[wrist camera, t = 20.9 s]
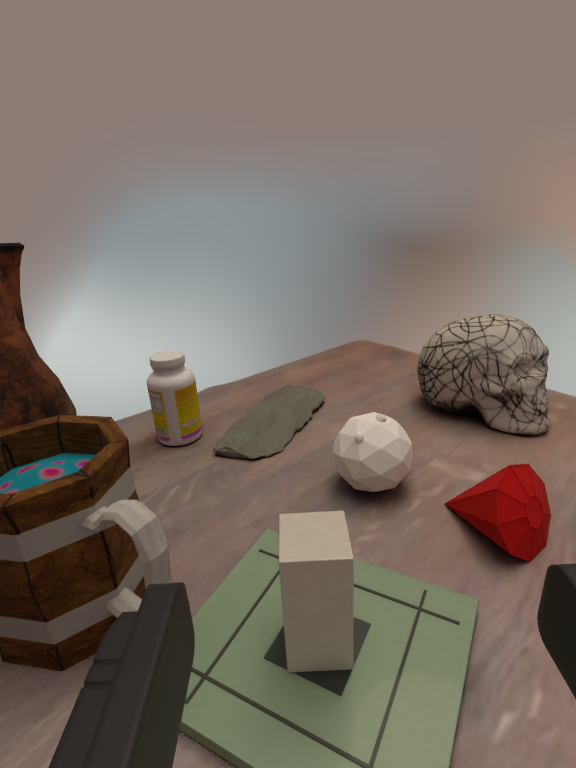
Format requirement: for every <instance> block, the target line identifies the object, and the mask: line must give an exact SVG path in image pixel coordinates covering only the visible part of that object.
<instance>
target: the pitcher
mask: <svg viewBox="0 0 576 768" xmlns="http://www.w3.org/2000/svg"><path fill="white" fill-rule="evenodd" d="M23 249H24V245H22V244H21V243H1V244H0V431H1V430H5V429H9V428H13V427H16V426H20V425H24V424H27V423H31V422H35V421H39V420H42V419H46V418H50V417H53V416H57V415H72V416H76V409H75V407H74V405H73V403H72V401H71V399H70V398H69V396H68V394H67V392H66V391H65V389H64V387H63V385H62V384H61V382H60V380H59V378H58V377H57V376H56V375H55V374H54V373H53V372H52V370H51V369H50V368H49V367H48V366H47V365H46V364H45V362H44V361H43V360H42V359H41V358H40V357H39V355H38V353H37V351H36V349H35V347H34V345H33V343H32V341H31V339H30V337H29V335H28V333H27V331H26V329H25V324H24V317H23V311H22V304H21V298H20V262H21V255H22V251H23Z"/></svg>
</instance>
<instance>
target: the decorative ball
mask: <svg viewBox="0 0 576 768" xmlns="http://www.w3.org/2000/svg"><path fill="white" fill-rule="evenodd" d="M332 453H333V457H334V460H335V464H336V468H337V471H338V474H340V475H341V476H342V477H343V478H344V479H345V480H346V481H347V482H348V483H349V484H350V485H351V486H352V487H353V488H354V489H358V490H364V491H369V492H377V491H382V490H387V489H392V488H395V487H396V486H397V485H398V484H399V483H400V482H401V480H402V479H403V478H404V477H405V476H406V475H407V474H408V473H409V471H410V470H411V464H412V454H413V451H412V443H411V441H410V439H409V437H408V435H407V433H406V432H405V430H404V429H403V428H402V427H401V426H400V424H399V423H398V422H397V421H395V420H393V419H392V418H390V417H388V416H385V415H383V414H378V413H375V412H372V413H368V414H364V415H360V416H356V417H352V418H350V419H349V420H348V422H347V423H346V424H345V425H344V427H343V428H342V429H341V431H340V432H339V433H338V434H337V436H336V439H335V442H334V446H333V449H332Z"/></svg>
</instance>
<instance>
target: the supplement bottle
mask: <svg viewBox="0 0 576 768" xmlns="http://www.w3.org/2000/svg"><path fill="white" fill-rule="evenodd" d="M184 363H185V357H184V353H183V352H181V351H176V350H170V351H163V352H158V353H156V354H153V355H151V356H150V365H151V367H152V369H153V371H154V372H153V373H151V374H150V375H149V377H148V379H147V387H148V392H149V397H150V402H151V407H152V413H153V418H154V423H155V429H156V434H157V437H158V440H159V441H160V442H161V443H162V444H164V445H168V446H180V445H185V444H189V443H191V442H193V441H195V440H197V439H198V438H199V437H200V436H201V434H202V422H201V415H200V409H199V402H198V396H197V389H196V382H195V377H194V374H193V372H192V371H191V370H190V369H188V368H186V367H184Z"/></svg>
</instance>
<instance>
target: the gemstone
mask: <svg viewBox="0 0 576 768" xmlns="http://www.w3.org/2000/svg"><path fill="white" fill-rule="evenodd" d="M531 469H532V468H531V466H530V465H529V464H520V465H519V466H518V465H509V466H507V467H506V468H504V469H502V470H501V471H499V472H497V473H496V474H494V475H492V476H491V477H489V478H487V479H485V480H484V481H482V482H480V483H479V484H477V485H475V486H474V487H472V488H470V489H469V490H467V491H465V492H463V493H462V494H460V495H458V496H457V497H455V498H453V500H450V501H448V502H447V503H445V505H447V506H448V507H449V508H451V509H452V510H453V511H455V512H456V513H457V514H458V515H460V516H461V517H462V518H464V519H465V520H466V521H468V522H469V523H470V524H471V525H473V526H474V527H475V528H477V529H478V530H479V531H481V532H482V533H483V534H485V535H486V536H487V537H488V538H490V539H491V540H492V541H494V542H495V543H496V544H498V545H499V546H500V547H502V548H503V549H504V550H505V551H507V552H508V553H509V554H511V555H514V556H516V557H519V558H521V559H524V560H526V561H529V560H530V559H531V558H532V557H533V556H534V555H535V554H536V553H537V552H538V551H539V550H540V549H541V548H542V547H543V546H544V547H545V546H546V542H545V540H546V541H547V536H548V530H549V524H550V518H551V513H550V508H549V504H548V505H547V503H548V499H547V500H546V498H547V494H546V489H545V485H544V483H543V482H542V480H541V479H540V478H539V476H538V475H537V474H536V473H535V471H534V470H533V469H532V470H533V471H532V470H531ZM535 474H536V475H537V476H536V475H535ZM539 479H540V480H541V481H540V480H539ZM544 489H545V490H544ZM545 494H546V495H545ZM548 508H549V509H548ZM549 513H550V514H549ZM549 516H550V518H549ZM548 522H549V524H548ZM547 528H548V530H547ZM546 534H547V536H546ZM544 547H543V548H544ZM543 548H542V549H543ZM542 549H541V550H542ZM541 550H540V551H541ZM540 551H539V552H540ZM539 552H538V553H539ZM538 553H537V554H538ZM537 554H536V555H537ZM536 555H535V556H536ZM535 556H534V557H535ZM534 557H533V558H534ZM533 558H532V559H533ZM532 559H531V560H532ZM531 560H530V561H531ZM530 561H529V562H530Z"/></svg>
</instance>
